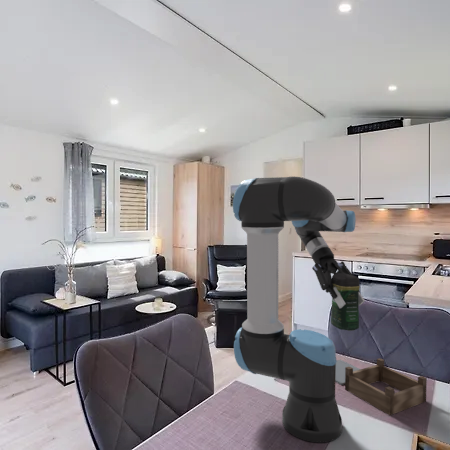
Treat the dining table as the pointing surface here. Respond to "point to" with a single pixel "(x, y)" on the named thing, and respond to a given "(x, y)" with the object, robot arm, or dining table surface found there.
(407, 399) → the wooden fruit crate
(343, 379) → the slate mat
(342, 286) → the coffee jar
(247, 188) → the robot arm
